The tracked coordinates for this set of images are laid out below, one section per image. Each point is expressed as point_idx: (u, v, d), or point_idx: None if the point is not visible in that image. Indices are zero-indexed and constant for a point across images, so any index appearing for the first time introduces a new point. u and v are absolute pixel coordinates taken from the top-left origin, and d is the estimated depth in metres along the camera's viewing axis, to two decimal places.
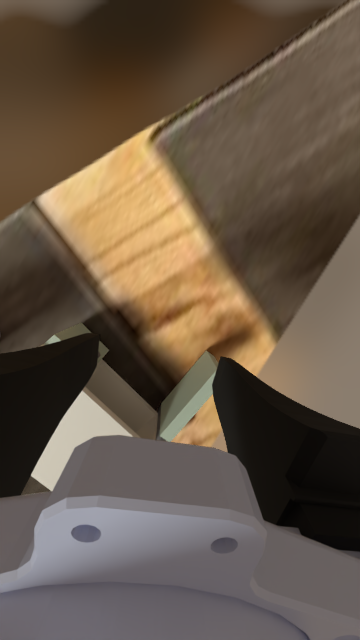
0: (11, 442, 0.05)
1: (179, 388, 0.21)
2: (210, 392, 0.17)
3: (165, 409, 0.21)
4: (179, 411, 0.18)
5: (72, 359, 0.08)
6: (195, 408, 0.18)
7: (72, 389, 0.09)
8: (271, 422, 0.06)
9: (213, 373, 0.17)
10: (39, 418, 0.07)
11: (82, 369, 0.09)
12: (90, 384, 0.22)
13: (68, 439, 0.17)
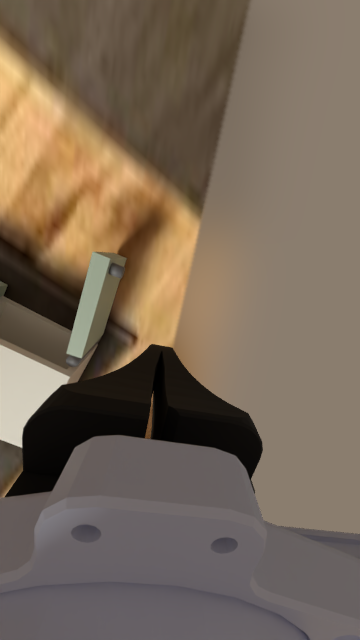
0: None
1: None
2: (98, 285, 0.14)
3: None
4: (76, 320, 0.15)
5: (154, 373, 0.09)
6: (90, 310, 0.14)
7: None
8: (162, 405, 0.06)
9: None
10: None
11: (154, 381, 0.10)
12: (7, 328, 0.20)
13: None
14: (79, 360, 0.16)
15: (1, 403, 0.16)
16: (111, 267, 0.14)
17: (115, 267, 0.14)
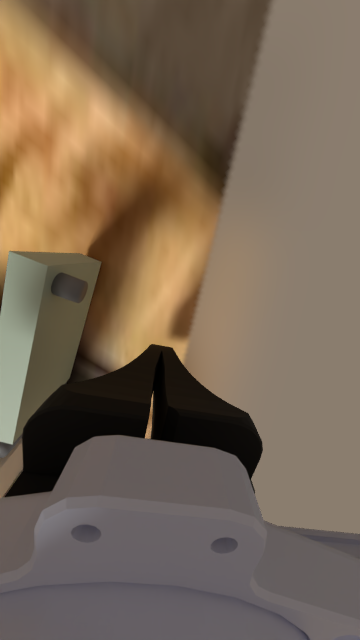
0: None
1: None
2: (29, 319, 0.07)
3: None
4: None
5: (154, 373, 0.09)
6: (19, 365, 0.07)
7: None
8: (162, 405, 0.06)
9: (7, 266, 0.06)
10: None
11: (154, 381, 0.10)
12: None
13: None
14: (10, 445, 0.09)
15: None
16: (56, 283, 0.07)
17: (64, 282, 0.07)
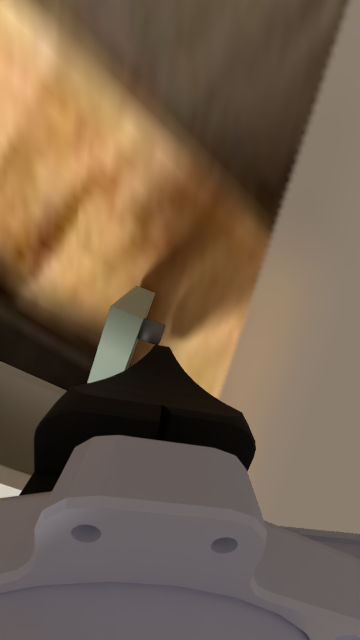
0: None
1: None
2: (120, 363, 0.08)
3: None
4: None
5: None
6: None
7: None
8: None
9: None
10: None
11: None
12: None
13: None
14: None
15: None
16: (143, 329, 0.08)
17: (150, 328, 0.08)
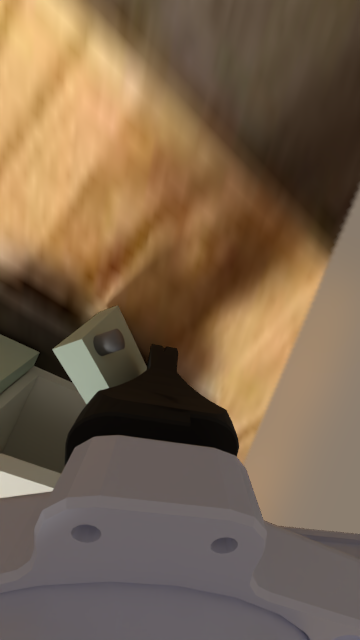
0: None
1: None
2: (101, 385, 0.08)
3: None
4: None
5: None
6: None
7: None
8: None
9: (59, 360, 0.07)
10: None
11: None
12: (37, 409, 0.14)
13: None
14: None
15: None
16: (97, 346, 0.08)
17: (102, 341, 0.08)
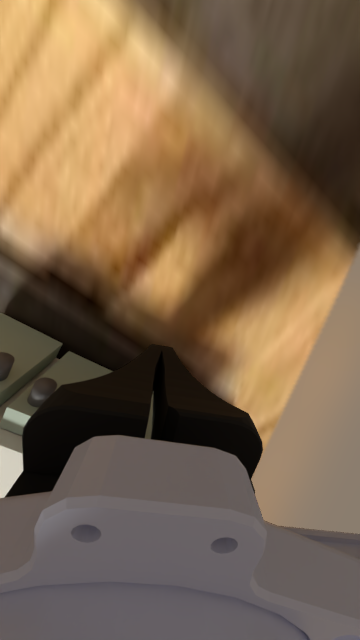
0: None
1: None
2: None
3: None
4: None
5: (154, 373, 0.09)
6: None
7: None
8: (162, 405, 0.06)
9: (11, 431, 0.08)
10: None
11: (154, 381, 0.10)
12: None
13: None
14: None
15: None
16: (31, 402, 0.09)
17: (30, 396, 0.09)
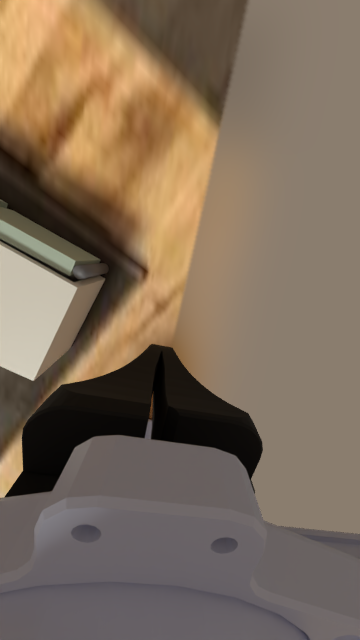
0: None
1: None
2: None
3: None
4: (32, 254, 0.14)
5: (154, 373, 0.09)
6: (15, 232, 0.13)
7: None
8: (162, 405, 0.06)
9: None
10: None
11: (154, 381, 0.10)
12: None
13: None
14: (80, 265, 0.14)
15: (1, 320, 0.14)
16: None
17: None
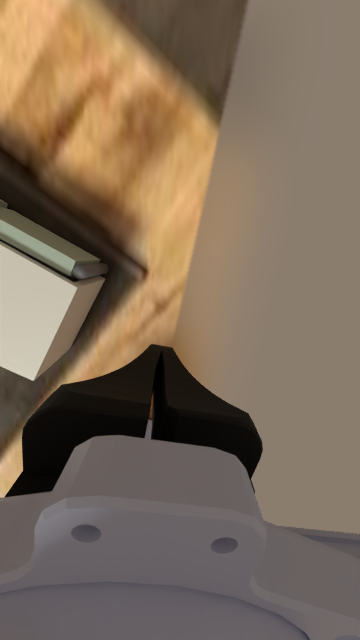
0: None
1: None
2: None
3: None
4: (32, 254, 0.14)
5: (154, 373, 0.09)
6: (15, 232, 0.13)
7: None
8: (162, 405, 0.06)
9: None
10: None
11: (154, 381, 0.10)
12: None
13: None
14: (80, 265, 0.14)
15: (1, 320, 0.14)
16: None
17: None
